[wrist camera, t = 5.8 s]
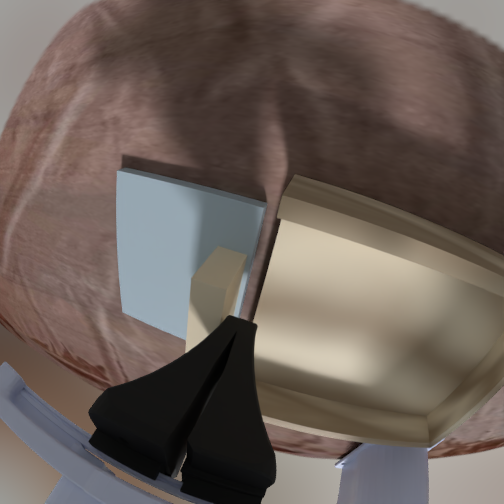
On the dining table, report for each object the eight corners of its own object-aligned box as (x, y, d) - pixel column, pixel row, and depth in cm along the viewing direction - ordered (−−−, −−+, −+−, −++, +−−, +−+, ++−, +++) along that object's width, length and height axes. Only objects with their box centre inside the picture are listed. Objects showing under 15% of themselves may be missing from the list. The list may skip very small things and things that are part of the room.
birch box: (426, 412, 17) (430, 447, 14) (240, 369, 19) (224, 409, 16) (535, 273, 10) (563, 307, 7) (294, 174, 12) (282, 195, 9)
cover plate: (234, 343, 18) (212, 392, 15) (131, 302, 19) (98, 338, 16) (269, 200, 13) (244, 235, 10) (130, 165, 14) (77, 186, 11)
